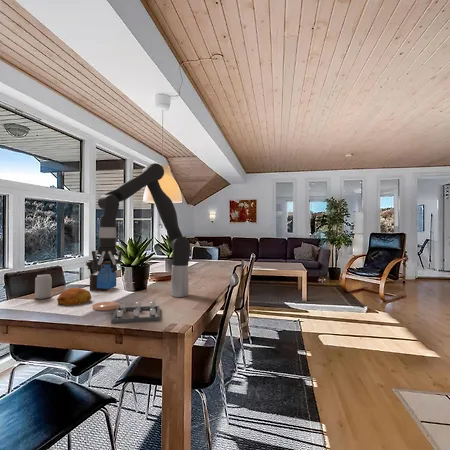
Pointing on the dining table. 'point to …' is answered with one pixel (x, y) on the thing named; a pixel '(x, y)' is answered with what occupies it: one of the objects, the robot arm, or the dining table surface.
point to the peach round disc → (105, 306)
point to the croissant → (74, 296)
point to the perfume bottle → (106, 277)
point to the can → (43, 286)
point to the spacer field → (136, 313)
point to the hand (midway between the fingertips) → (107, 272)
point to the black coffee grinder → (94, 278)
